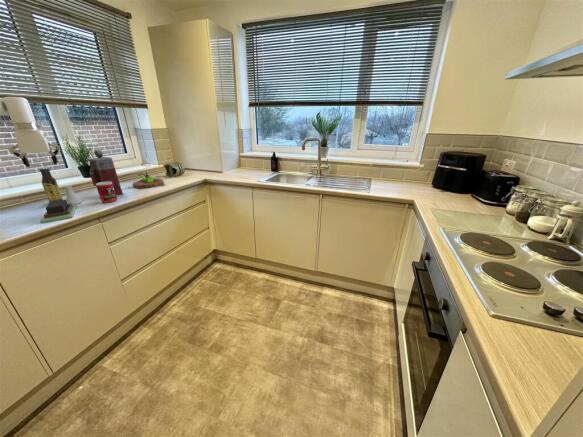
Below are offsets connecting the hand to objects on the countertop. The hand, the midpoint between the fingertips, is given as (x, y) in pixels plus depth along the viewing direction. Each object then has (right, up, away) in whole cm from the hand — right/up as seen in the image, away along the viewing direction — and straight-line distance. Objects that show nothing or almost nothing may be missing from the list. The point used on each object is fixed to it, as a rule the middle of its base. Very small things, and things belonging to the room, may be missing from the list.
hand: (42, 165), depth 115 cm
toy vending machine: (+4, -11, +37) cm, 39 cm away
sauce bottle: (-20, -16, +27) cm, 37 cm away
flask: (-6, -17, +23) cm, 30 cm away
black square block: (+4, -23, +4) cm, 24 cm away
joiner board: (+2, -23, +7) cm, 25 cm away
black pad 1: (0, -21, +9) cm, 23 cm away
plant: (+15, -1, +61) cm, 63 cm away
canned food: (+13, -16, +26) cm, 33 cm away
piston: (+21, +10, +89) cm, 92 cm away
